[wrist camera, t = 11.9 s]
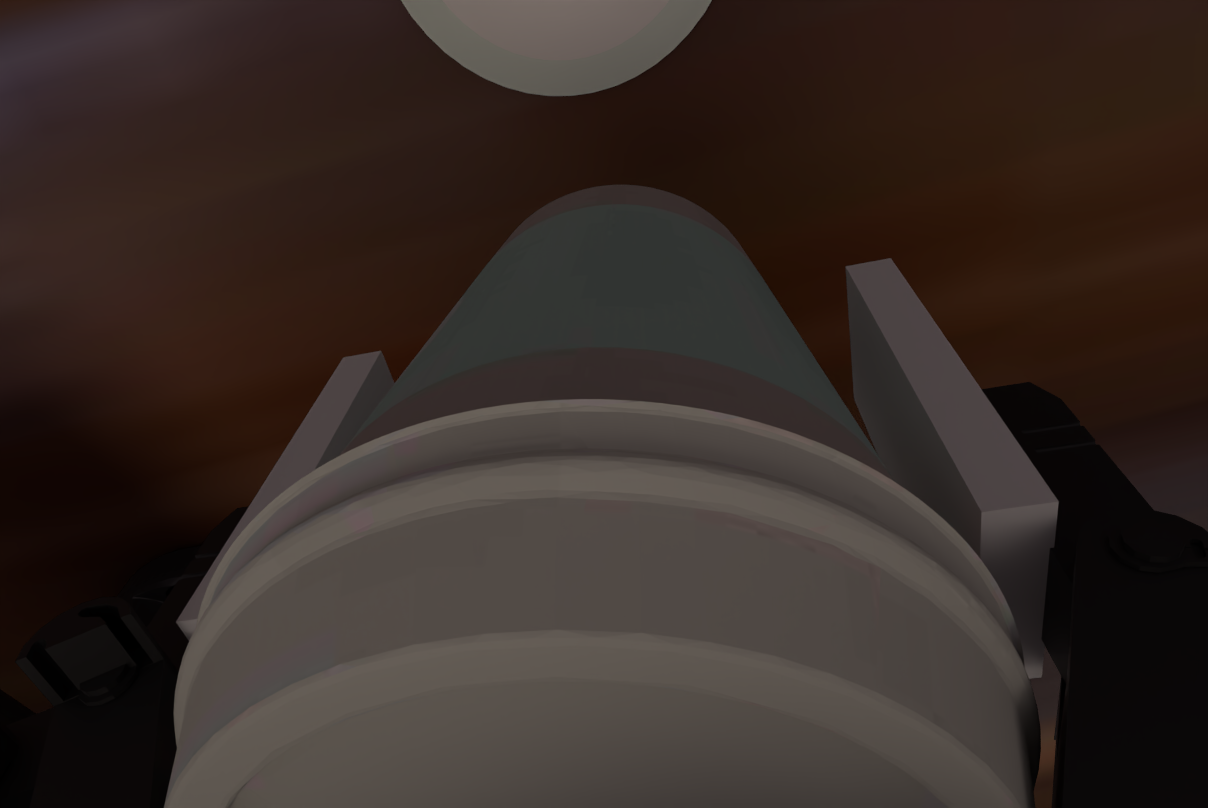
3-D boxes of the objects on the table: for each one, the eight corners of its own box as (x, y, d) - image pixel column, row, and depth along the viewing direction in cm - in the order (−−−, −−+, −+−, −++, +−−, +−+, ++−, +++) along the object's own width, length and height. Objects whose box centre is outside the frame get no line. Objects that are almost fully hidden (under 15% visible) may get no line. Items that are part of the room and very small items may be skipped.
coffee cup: (408, 89, 15) (-89, 514, 5) (873, 130, 15) (1366, 632, 5) (427, 465, 19) (193, 1092, 9) (783, 495, 20) (939, 1149, 9)
